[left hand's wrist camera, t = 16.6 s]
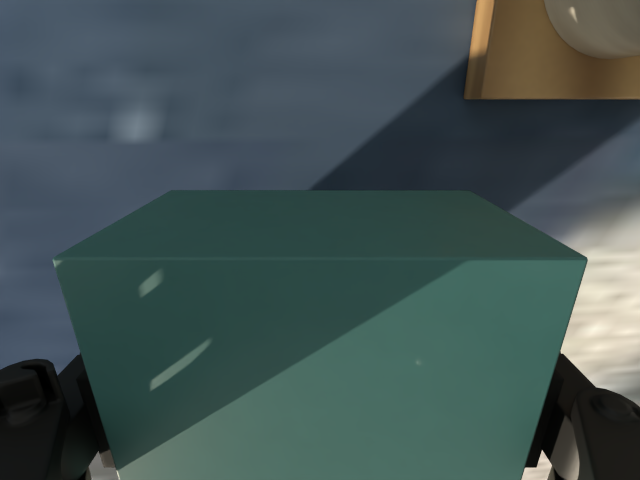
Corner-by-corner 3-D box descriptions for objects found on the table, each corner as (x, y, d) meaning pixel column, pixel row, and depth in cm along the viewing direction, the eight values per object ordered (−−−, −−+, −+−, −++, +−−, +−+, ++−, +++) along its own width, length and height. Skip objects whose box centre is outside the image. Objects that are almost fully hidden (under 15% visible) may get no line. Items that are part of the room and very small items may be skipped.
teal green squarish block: (205, 415, 14) (146, 574, 9) (170, 189, 10) (50, 257, 6) (434, 415, 14) (493, 575, 9) (469, 190, 10) (590, 258, 6)
